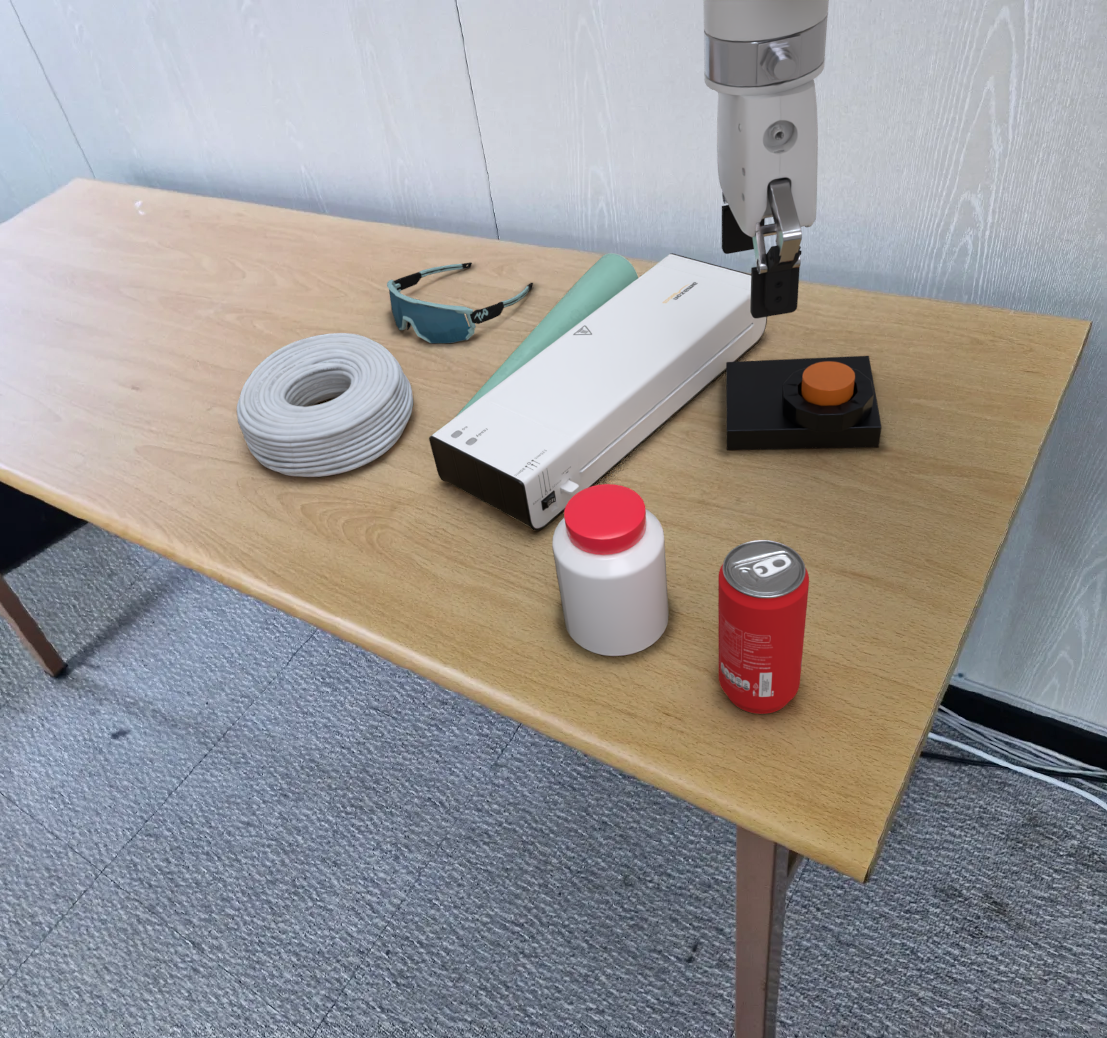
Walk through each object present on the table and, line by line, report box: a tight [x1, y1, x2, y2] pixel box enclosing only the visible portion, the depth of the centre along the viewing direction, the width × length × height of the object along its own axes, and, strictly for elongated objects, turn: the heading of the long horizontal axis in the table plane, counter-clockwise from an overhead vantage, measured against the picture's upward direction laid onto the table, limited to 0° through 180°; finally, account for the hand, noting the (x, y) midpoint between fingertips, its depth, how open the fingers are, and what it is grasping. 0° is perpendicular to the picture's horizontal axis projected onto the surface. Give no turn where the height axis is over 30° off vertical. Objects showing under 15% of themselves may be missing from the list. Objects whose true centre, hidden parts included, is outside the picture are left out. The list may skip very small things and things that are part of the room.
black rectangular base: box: [725, 355, 882, 451], centre depth 84 cm, size 12×10×4 cm
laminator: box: [428, 252, 768, 532], centre depth 89 cm, size 34×12×6 cm, turn 133°
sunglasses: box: [386, 261, 534, 344], centre depth 110 cm, size 14×15×5 cm
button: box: [801, 361, 855, 406], centre depth 81 cm, size 4×4×2 cm
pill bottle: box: [551, 483, 670, 657], centre depth 70 cm, size 8×8×11 cm
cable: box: [236, 332, 414, 478], centre depth 97 cm, size 18×18×6 cm
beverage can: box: [717, 539, 810, 715], centre depth 63 cm, size 5×5×12 cm
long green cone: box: [456, 252, 639, 416], centre depth 97 cm, size 5×6×27 cm
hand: (757, 279), depth 75 cm, fingers open, 9 cm apart
